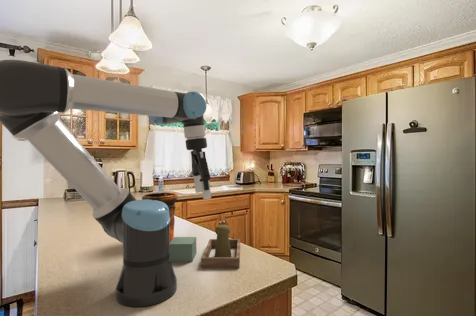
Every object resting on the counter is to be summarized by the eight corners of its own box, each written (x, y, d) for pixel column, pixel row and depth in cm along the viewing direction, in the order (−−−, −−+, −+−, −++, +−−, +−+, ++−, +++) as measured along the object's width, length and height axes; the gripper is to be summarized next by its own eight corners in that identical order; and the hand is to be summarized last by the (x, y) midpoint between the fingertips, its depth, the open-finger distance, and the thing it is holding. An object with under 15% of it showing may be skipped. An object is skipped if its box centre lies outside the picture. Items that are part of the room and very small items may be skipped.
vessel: (170, 247, 104) (169, 196, 105) (136, 246, 107) (135, 196, 107) (183, 237, 119) (182, 191, 119) (153, 236, 121) (152, 192, 121)
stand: (192, 261, 91) (192, 244, 91) (168, 261, 91) (168, 244, 91) (196, 253, 99) (196, 236, 99) (174, 253, 99) (174, 237, 99)
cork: (222, 252, 100) (222, 222, 100) (235, 255, 96) (234, 224, 96) (210, 256, 95) (210, 225, 95) (223, 260, 91) (223, 228, 91)
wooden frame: (239, 267, 85) (239, 258, 85) (201, 267, 86) (201, 258, 85) (240, 246, 105) (240, 239, 105) (209, 246, 106) (209, 239, 105)
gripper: (214, 136, 87) (222, 200, 89) (198, 137, 110) (205, 188, 112) (191, 138, 84) (200, 204, 86) (180, 139, 108) (187, 191, 110)
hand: (203, 195), depth 99 cm, fingers open, 13 cm apart
